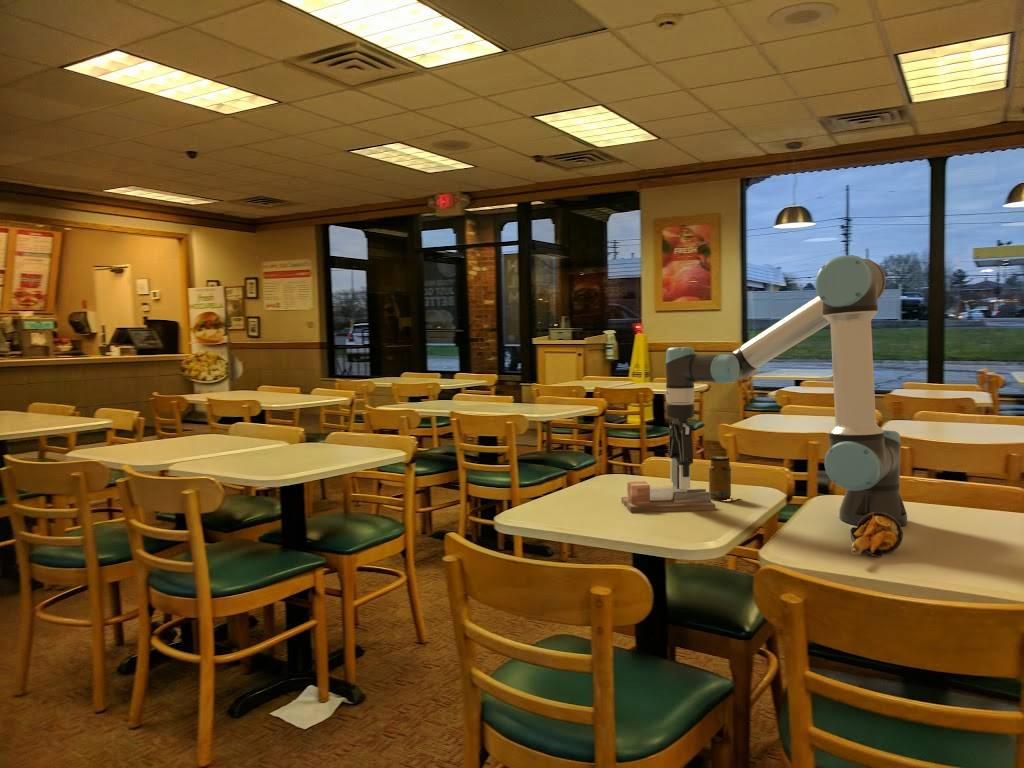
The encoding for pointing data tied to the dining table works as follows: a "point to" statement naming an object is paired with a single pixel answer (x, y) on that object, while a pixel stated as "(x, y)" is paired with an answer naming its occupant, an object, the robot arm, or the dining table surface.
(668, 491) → the mallet
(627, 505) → the rail slide board
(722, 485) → the condiment
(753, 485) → the dining table surface
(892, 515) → the robot arm
